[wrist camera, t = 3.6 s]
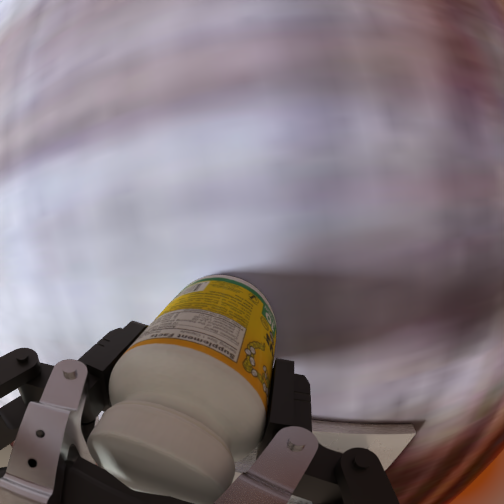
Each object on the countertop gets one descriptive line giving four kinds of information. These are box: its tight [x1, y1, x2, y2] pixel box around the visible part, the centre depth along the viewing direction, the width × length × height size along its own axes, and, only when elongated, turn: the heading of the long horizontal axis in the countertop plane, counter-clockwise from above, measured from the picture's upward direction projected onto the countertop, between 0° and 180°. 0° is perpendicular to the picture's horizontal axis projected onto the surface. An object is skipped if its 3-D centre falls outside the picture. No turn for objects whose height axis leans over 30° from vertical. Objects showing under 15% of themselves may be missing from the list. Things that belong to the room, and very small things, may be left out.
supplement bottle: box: [87, 275, 277, 504], centre depth 10 cm, size 5×5×10 cm
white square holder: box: [232, 420, 416, 504], centre depth 16 cm, size 16×16×4 cm
